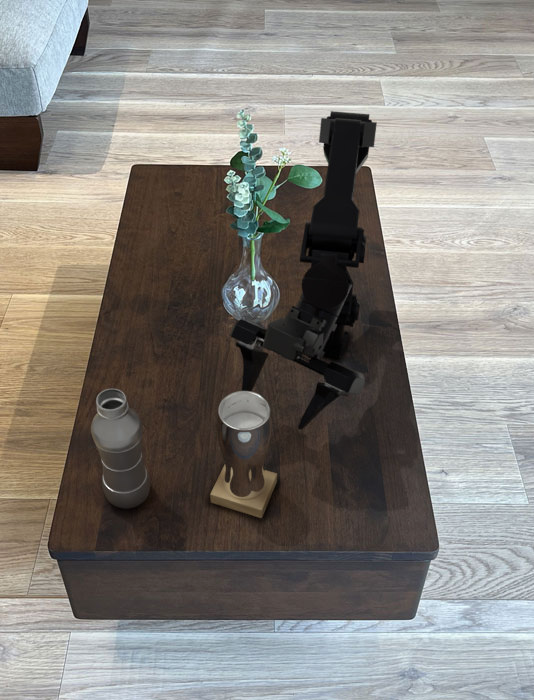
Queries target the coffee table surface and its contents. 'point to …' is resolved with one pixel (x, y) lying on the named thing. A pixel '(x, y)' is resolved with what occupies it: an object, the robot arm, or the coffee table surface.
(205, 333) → the coffee table surface
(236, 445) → the metal cup
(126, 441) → the plastic bottle
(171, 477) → the coffee table surface
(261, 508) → the wooden block
